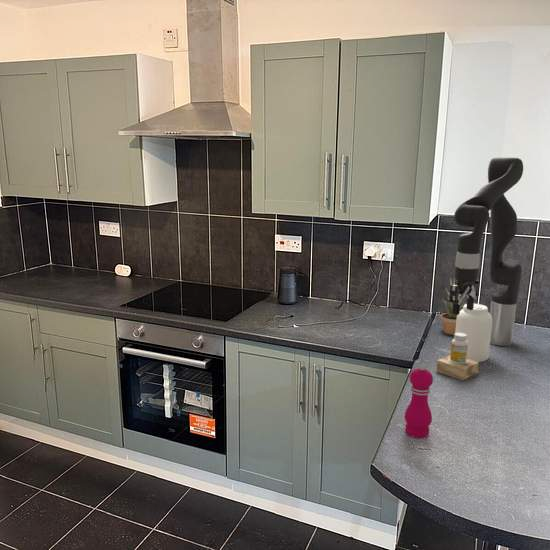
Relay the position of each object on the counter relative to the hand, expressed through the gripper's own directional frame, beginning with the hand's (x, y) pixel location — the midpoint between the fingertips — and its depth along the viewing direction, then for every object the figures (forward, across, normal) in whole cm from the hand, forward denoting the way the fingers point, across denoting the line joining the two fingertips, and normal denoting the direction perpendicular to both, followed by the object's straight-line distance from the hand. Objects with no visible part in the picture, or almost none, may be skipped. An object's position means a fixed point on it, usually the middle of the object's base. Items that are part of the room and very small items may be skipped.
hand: (462, 311), depth 177 cm
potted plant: (+23, -35, -25) cm, 48 cm away
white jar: (+22, -17, -5) cm, 28 cm away
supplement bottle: (+18, 0, 0) cm, 18 cm away
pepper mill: (+22, +45, +16) cm, 53 cm away
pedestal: (+22, 0, 0) cm, 22 cm away
